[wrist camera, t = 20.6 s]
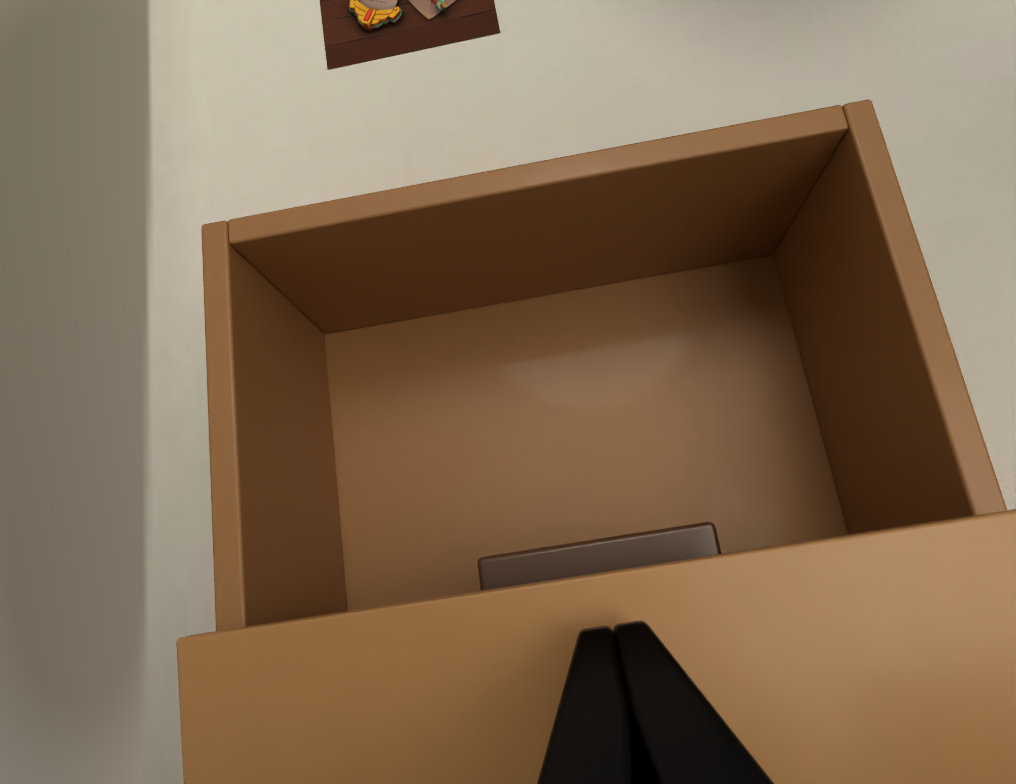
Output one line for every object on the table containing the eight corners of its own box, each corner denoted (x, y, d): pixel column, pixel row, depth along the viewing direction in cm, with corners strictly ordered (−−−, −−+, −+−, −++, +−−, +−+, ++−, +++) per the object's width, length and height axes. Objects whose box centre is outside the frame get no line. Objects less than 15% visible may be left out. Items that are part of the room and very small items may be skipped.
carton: (961, 890, 14) (1201, 1089, 8) (361, 963, 14) (234, 1190, 9) (782, 243, 17) (871, 97, 12) (311, 326, 18) (200, 224, 13)
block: (722, 731, 14) (774, 788, 11) (529, 758, 15) (510, 824, 11) (681, 533, 15) (715, 520, 12) (501, 561, 16) (475, 557, 12)
